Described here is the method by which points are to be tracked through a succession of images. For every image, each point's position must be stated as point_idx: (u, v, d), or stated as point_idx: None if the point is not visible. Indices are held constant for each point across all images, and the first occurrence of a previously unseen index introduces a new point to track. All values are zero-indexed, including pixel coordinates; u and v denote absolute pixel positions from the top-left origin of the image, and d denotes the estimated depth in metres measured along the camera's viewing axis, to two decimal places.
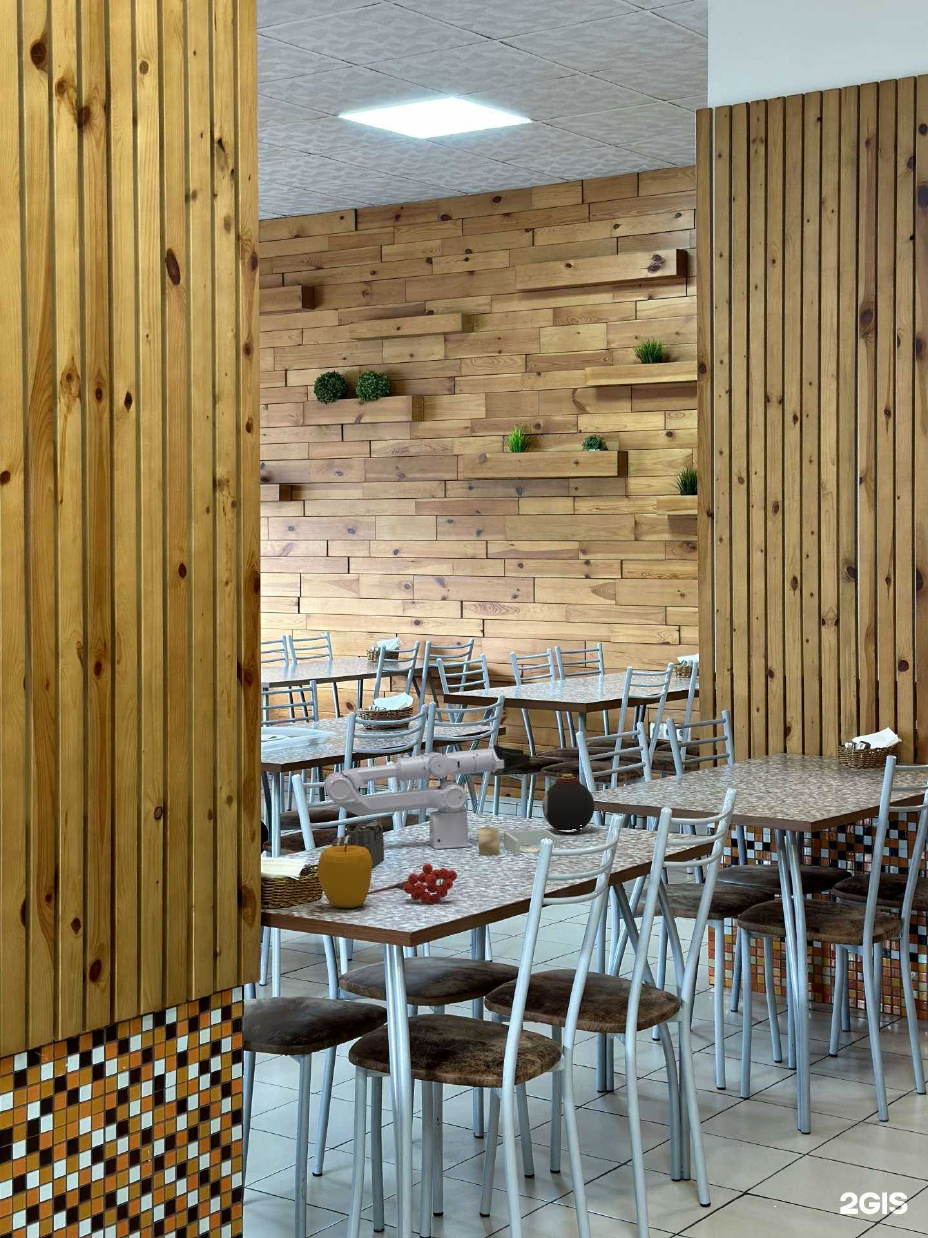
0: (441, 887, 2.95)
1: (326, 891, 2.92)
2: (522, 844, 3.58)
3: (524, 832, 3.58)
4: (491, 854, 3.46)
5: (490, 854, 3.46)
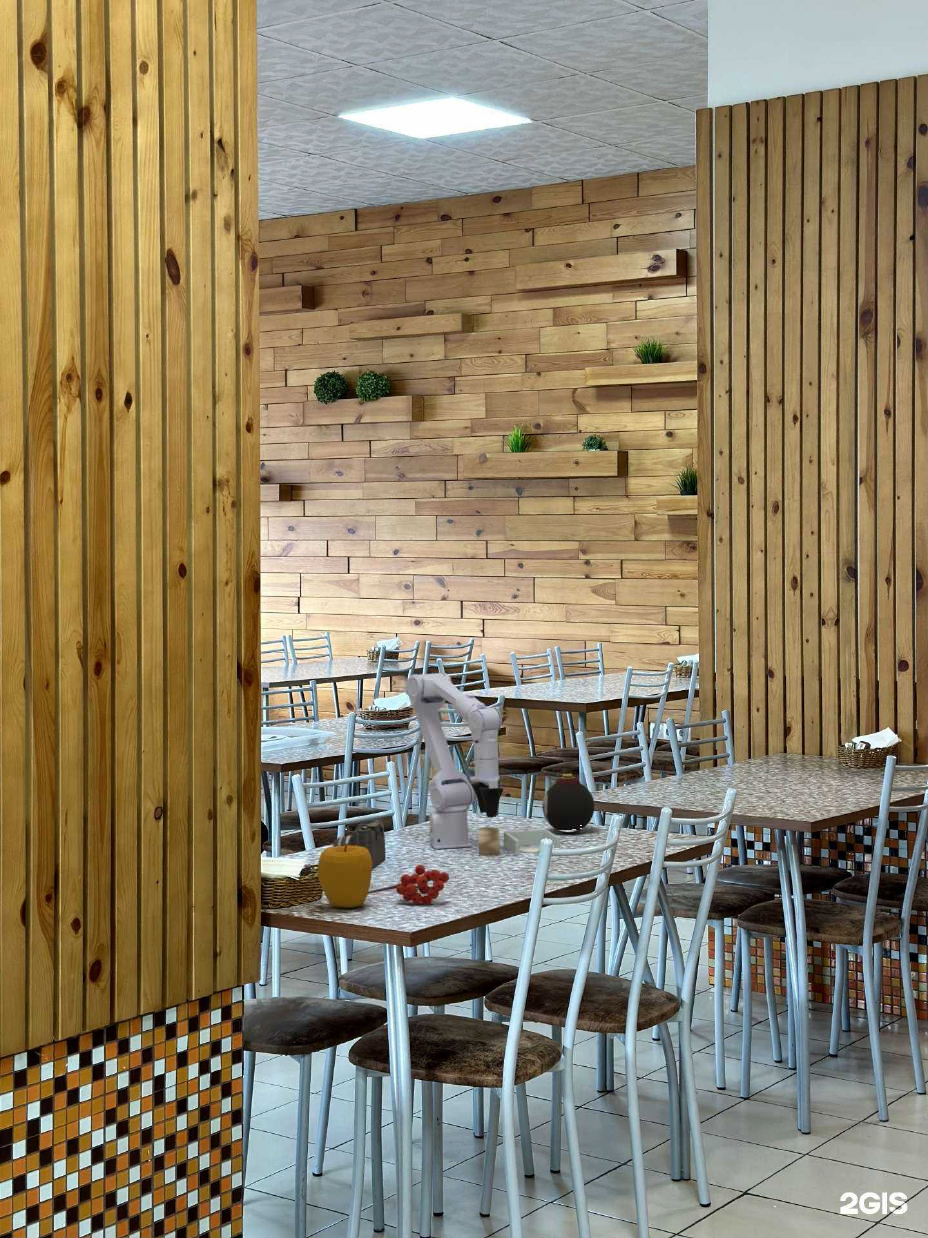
0: (432, 889, 2.94)
1: (326, 891, 2.92)
2: (522, 844, 3.58)
3: (524, 832, 3.58)
4: (491, 854, 3.46)
5: (490, 854, 3.46)
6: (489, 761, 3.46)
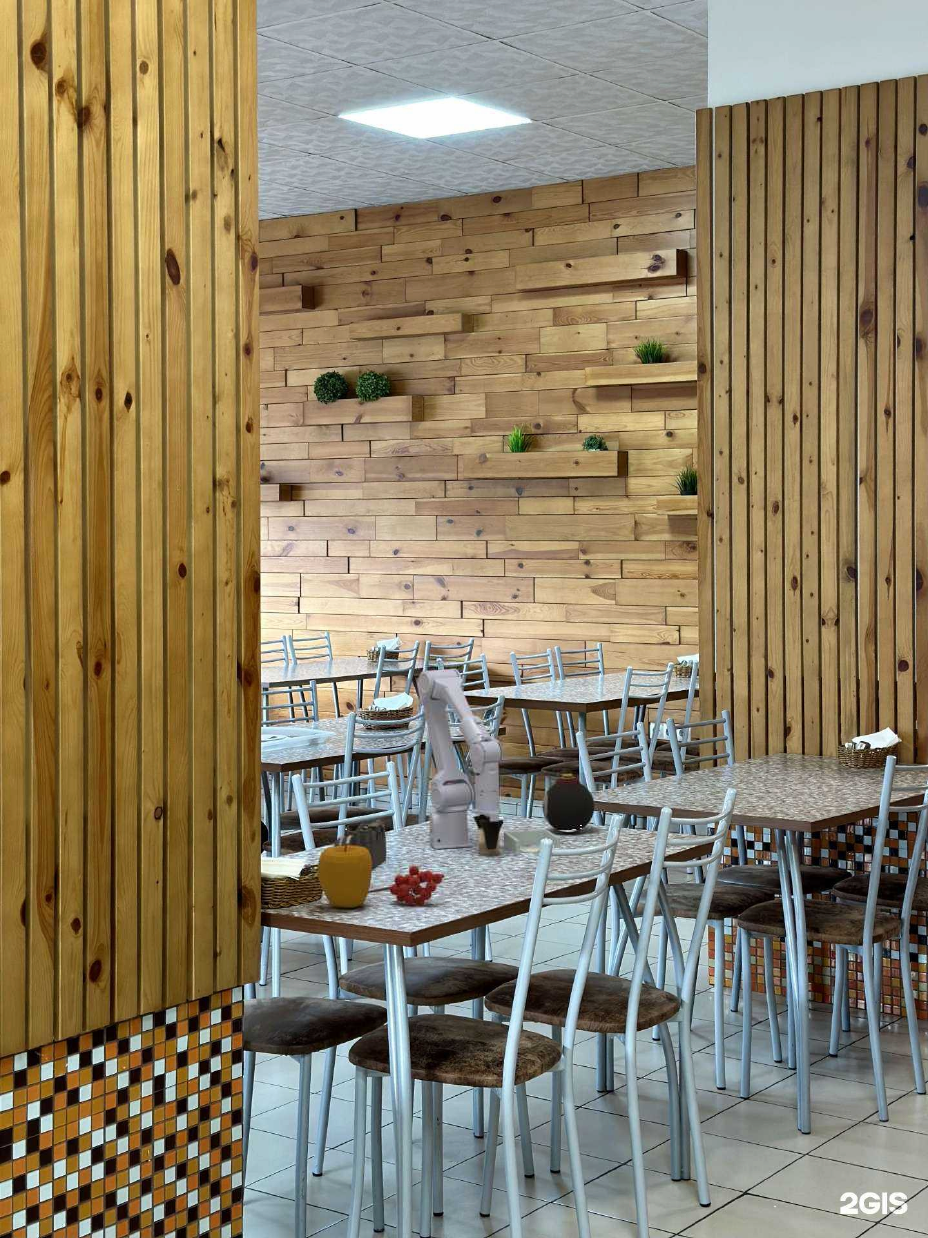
0: (424, 890, 2.93)
1: (326, 891, 2.92)
2: (522, 844, 3.58)
3: (524, 832, 3.58)
4: (491, 854, 3.46)
5: (490, 854, 3.46)
6: (490, 794, 3.46)
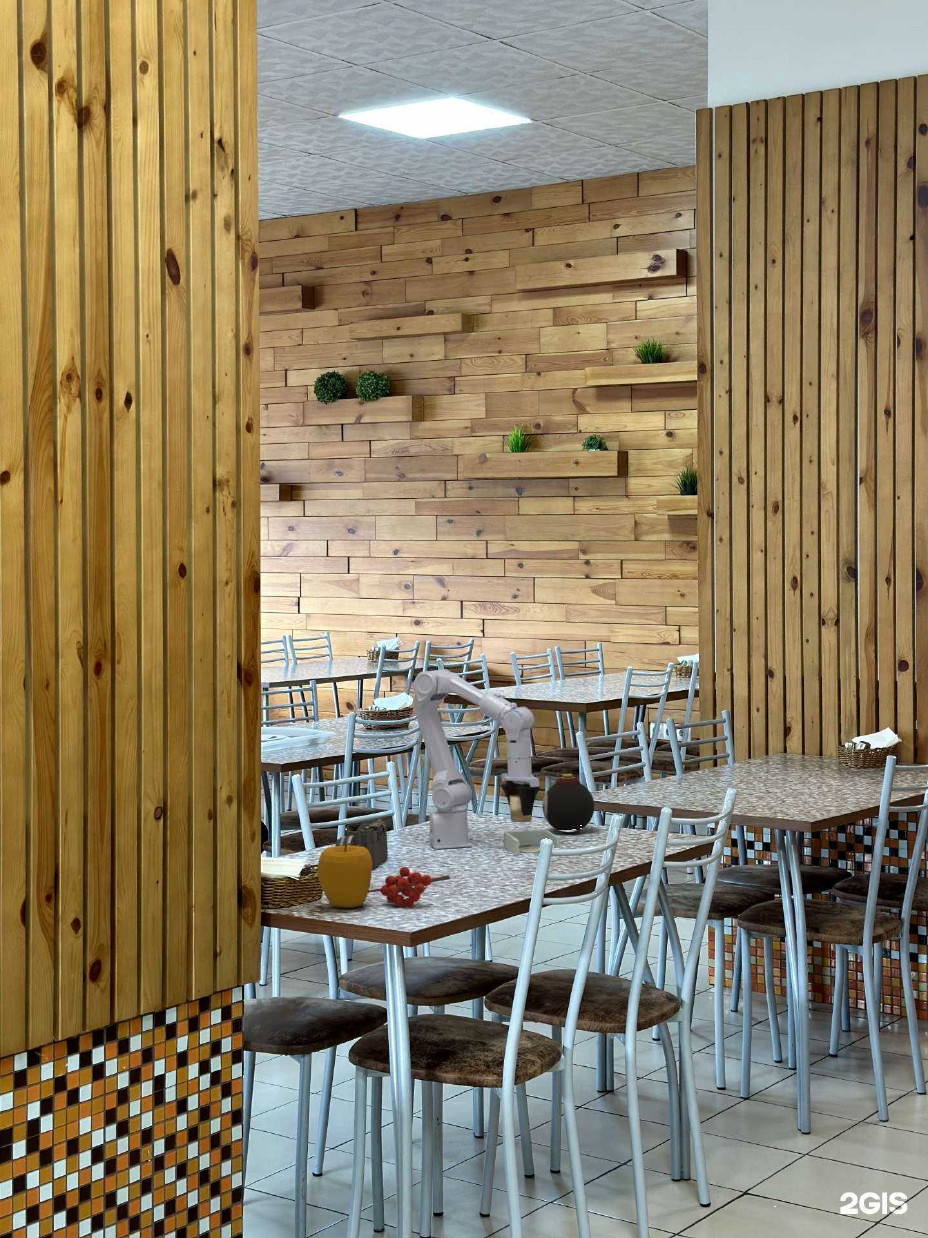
0: (413, 891, 2.92)
1: (326, 891, 2.92)
2: (522, 844, 3.58)
3: (524, 832, 3.58)
4: (526, 820, 3.49)
5: (525, 820, 3.48)
6: (525, 760, 3.48)
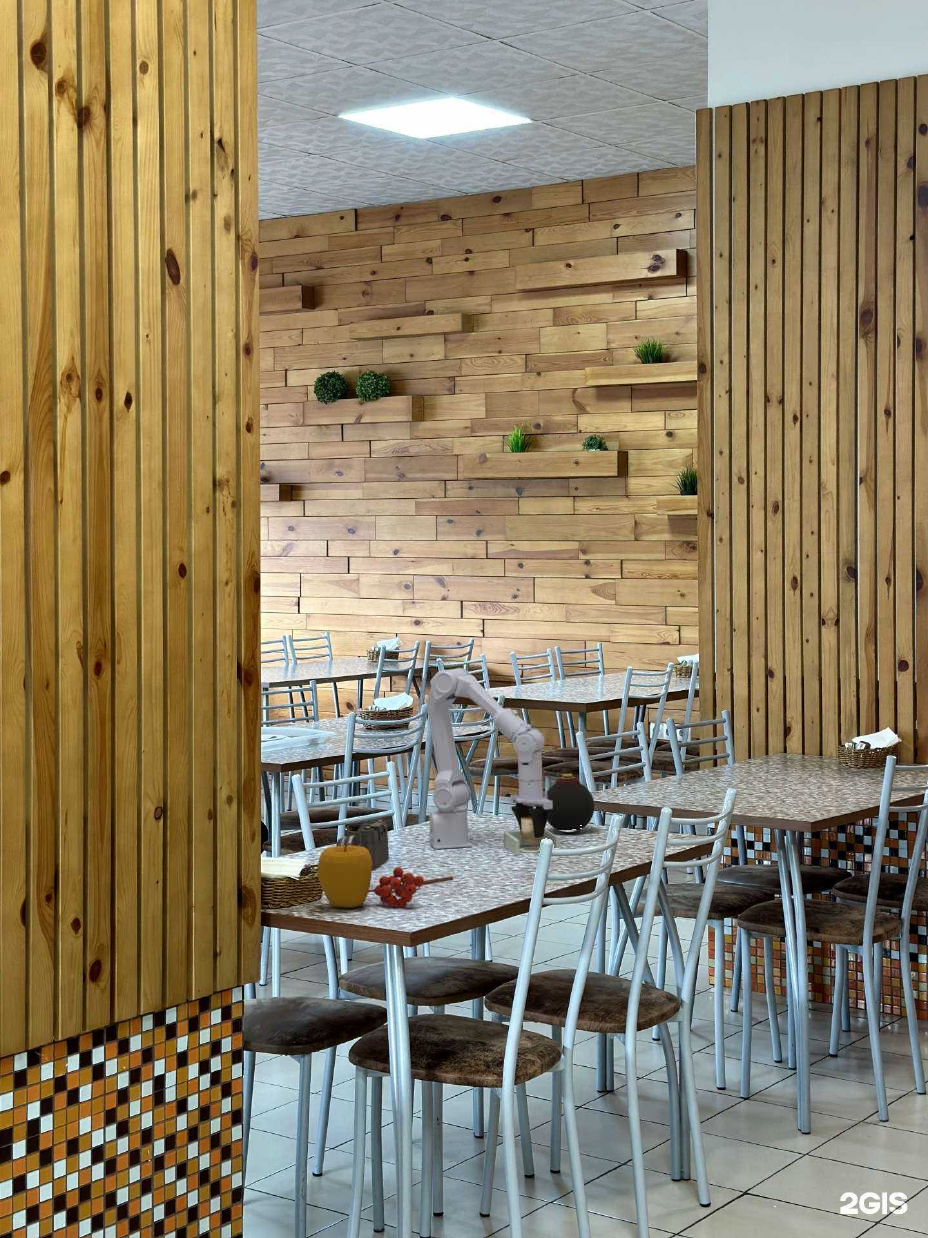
0: (405, 892, 2.91)
1: (326, 891, 2.92)
2: (522, 844, 3.58)
3: None
4: (538, 842, 3.50)
5: (537, 842, 3.50)
6: (538, 782, 3.49)
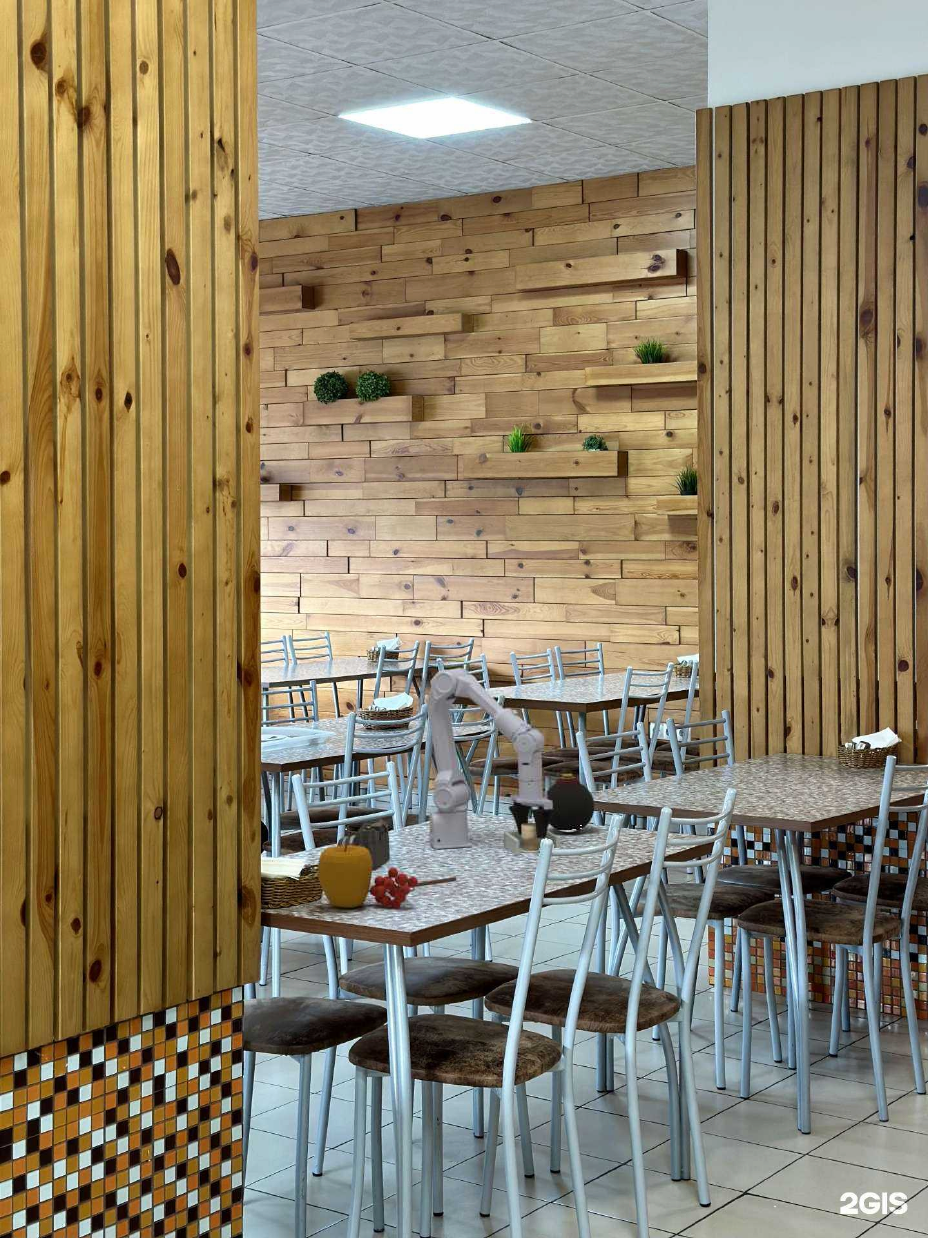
0: (398, 892, 2.91)
1: (326, 891, 2.92)
2: None
3: None
4: (538, 849, 3.50)
5: (537, 849, 3.50)
6: (538, 783, 3.49)
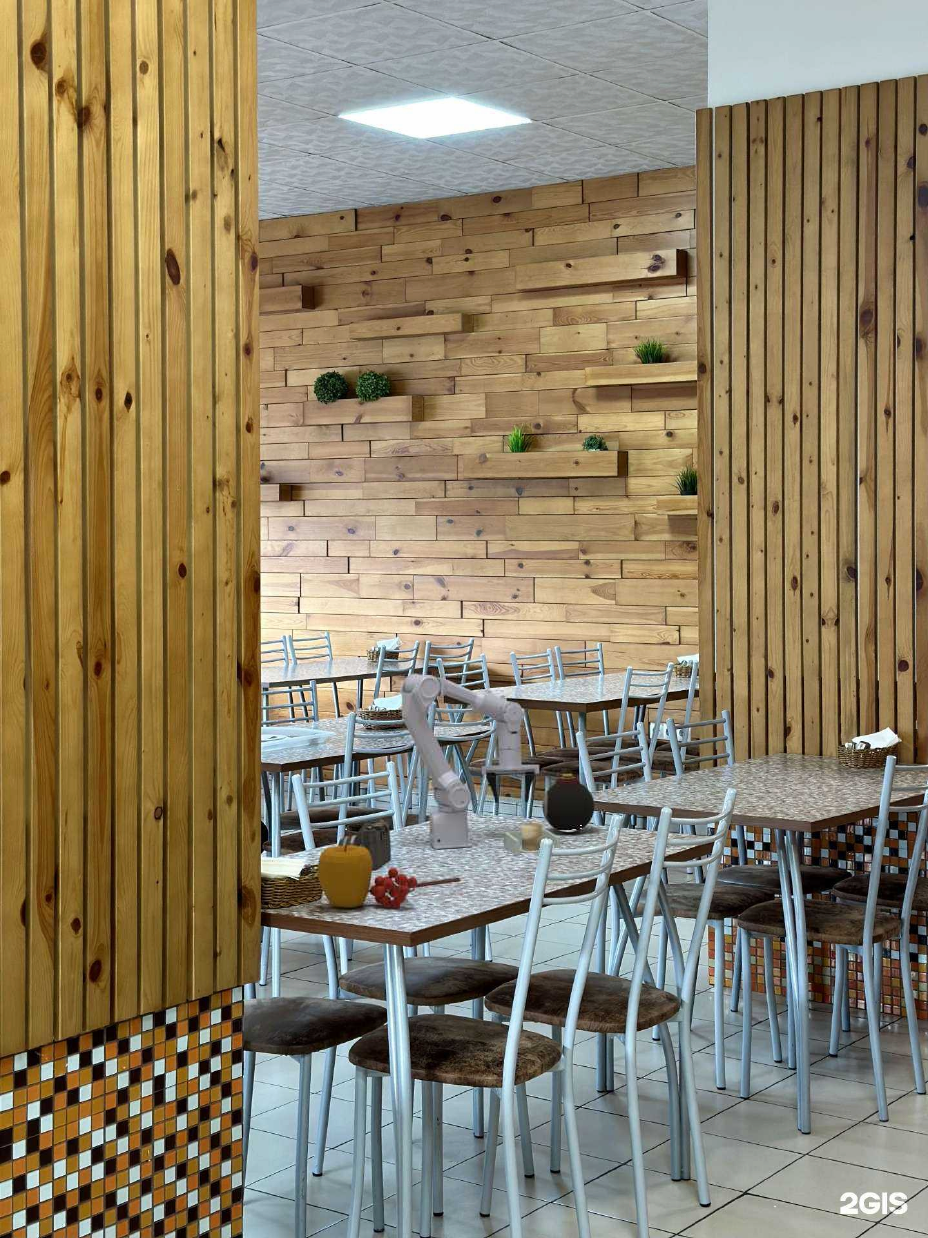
0: (397, 893, 2.91)
1: (326, 891, 2.92)
2: None
3: None
4: (538, 849, 3.50)
5: (537, 849, 3.50)
6: (520, 750, 3.68)
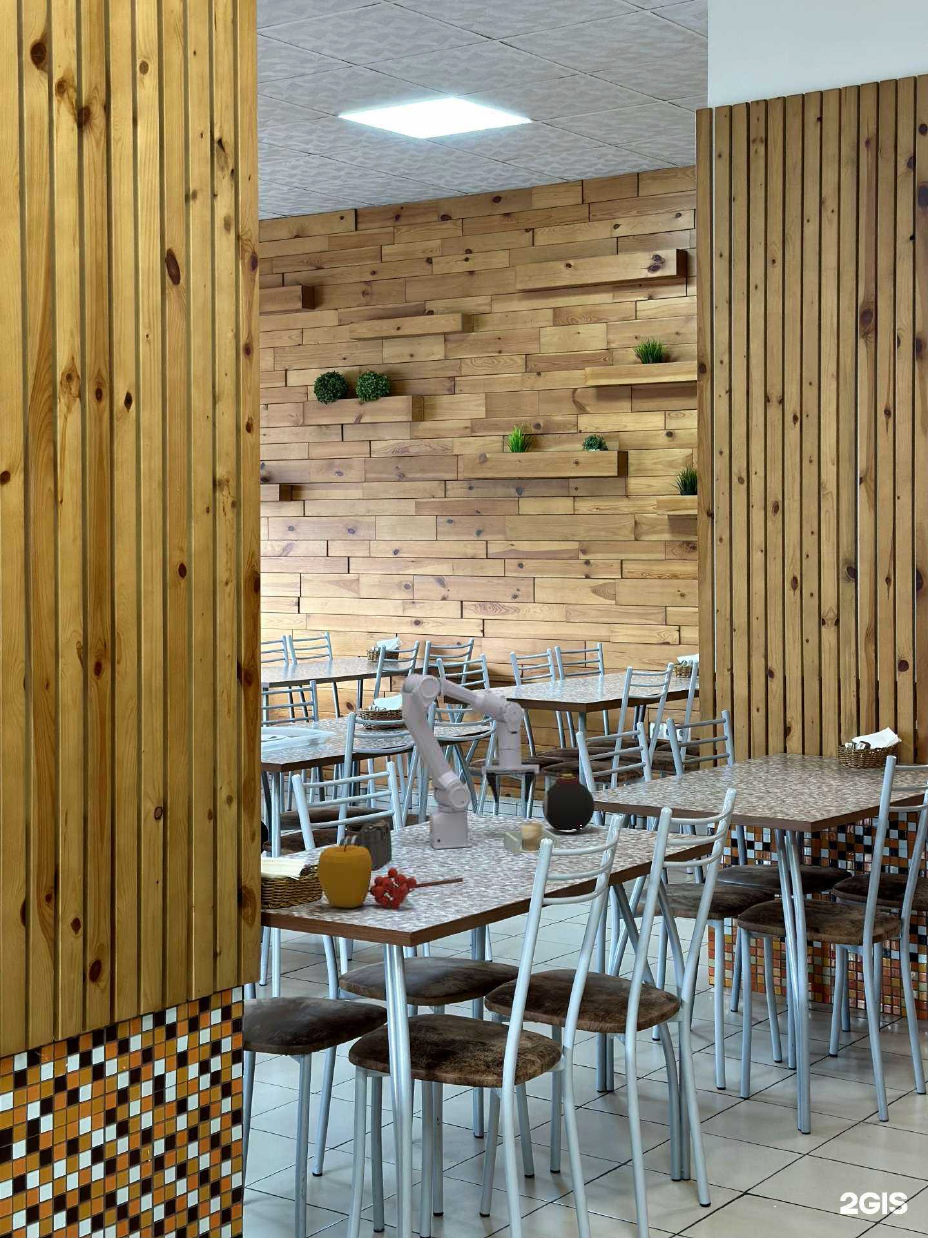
0: (396, 893, 2.91)
1: (326, 891, 2.92)
2: None
3: None
4: (538, 849, 3.50)
5: (537, 849, 3.50)
6: (520, 750, 3.68)
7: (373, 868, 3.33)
